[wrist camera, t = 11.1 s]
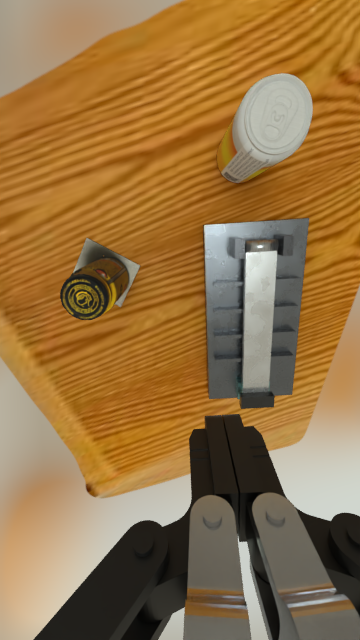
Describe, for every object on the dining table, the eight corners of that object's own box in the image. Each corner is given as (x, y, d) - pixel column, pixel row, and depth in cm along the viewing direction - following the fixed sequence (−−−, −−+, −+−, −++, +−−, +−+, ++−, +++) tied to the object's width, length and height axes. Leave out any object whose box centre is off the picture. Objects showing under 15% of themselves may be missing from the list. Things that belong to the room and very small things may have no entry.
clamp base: (302, 218, 38) (324, 217, 32) (287, 387, 47) (302, 410, 42) (203, 225, 38) (207, 225, 32) (208, 391, 48) (211, 414, 42)
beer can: (270, 141, 35) (332, 86, 20) (250, 190, 37) (294, 171, 22) (226, 122, 34) (260, 52, 20) (209, 173, 36) (227, 142, 22)
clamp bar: (278, 238, 35) (285, 239, 33) (268, 397, 44) (273, 407, 41) (240, 240, 35) (244, 242, 33) (237, 398, 44) (241, 408, 41)
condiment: (120, 306, 42) (99, 337, 31) (69, 281, 41) (28, 304, 30) (140, 265, 40) (125, 282, 29) (87, 237, 39) (49, 244, 27)
